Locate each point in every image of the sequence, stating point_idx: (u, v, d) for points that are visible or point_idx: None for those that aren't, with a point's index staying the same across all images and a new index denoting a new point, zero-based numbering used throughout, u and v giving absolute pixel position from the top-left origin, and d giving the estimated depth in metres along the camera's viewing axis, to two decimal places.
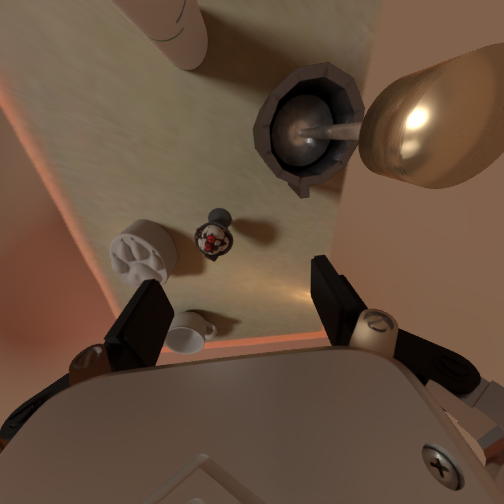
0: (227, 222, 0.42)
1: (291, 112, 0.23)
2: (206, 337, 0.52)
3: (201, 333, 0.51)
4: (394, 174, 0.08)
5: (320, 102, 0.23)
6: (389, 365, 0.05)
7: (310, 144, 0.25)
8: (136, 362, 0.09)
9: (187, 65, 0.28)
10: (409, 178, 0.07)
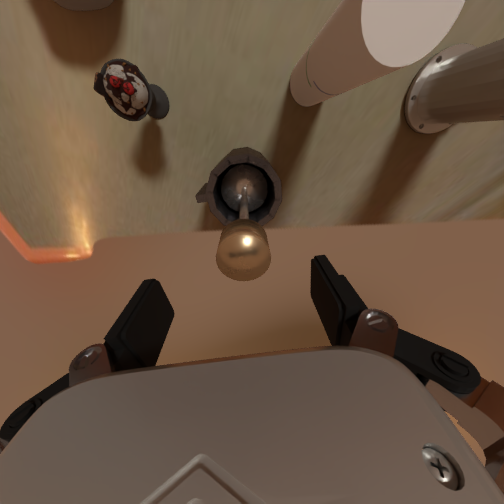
0: (153, 112, 0.36)
1: (257, 180, 0.31)
2: None
3: None
4: (221, 240, 0.14)
5: (262, 200, 0.33)
6: (389, 365, 0.05)
7: (237, 197, 0.32)
8: (136, 362, 0.09)
9: (292, 83, 0.33)
10: (220, 245, 0.14)
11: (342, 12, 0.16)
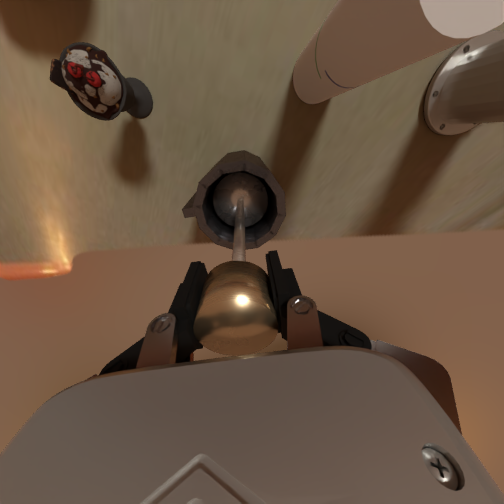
0: (134, 111, 0.31)
1: (255, 190, 0.26)
2: None
3: None
4: (202, 299, 0.09)
5: (262, 213, 0.28)
6: (389, 365, 0.05)
7: (232, 210, 0.28)
8: None
9: (296, 76, 0.28)
10: (198, 313, 0.09)
11: None
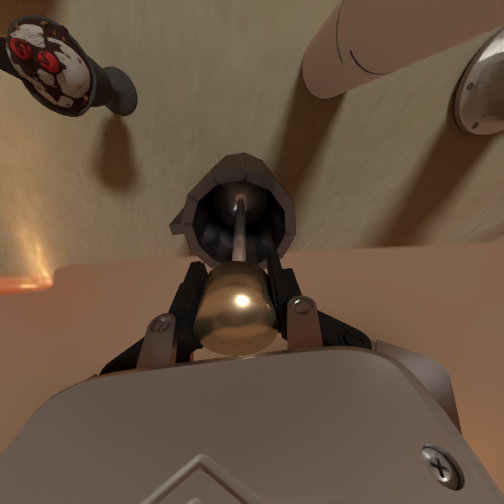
0: (115, 106, 0.26)
1: (255, 190, 0.26)
2: None
3: None
4: (202, 299, 0.09)
5: (262, 213, 0.28)
6: (389, 365, 0.05)
7: (232, 210, 0.28)
8: None
9: (307, 64, 0.23)
10: (198, 313, 0.09)
11: None
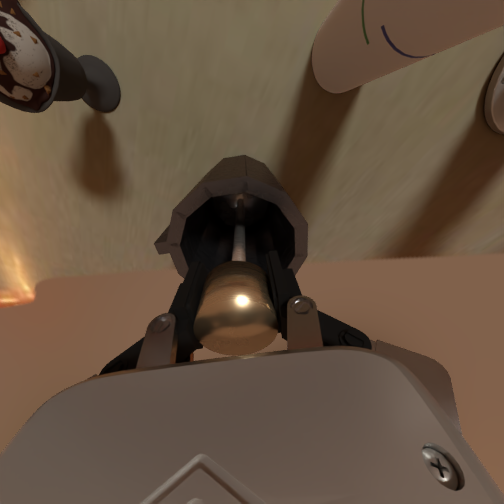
0: (95, 102, 0.23)
1: None
2: None
3: None
4: (202, 299, 0.09)
5: (262, 213, 0.28)
6: (389, 365, 0.05)
7: (232, 210, 0.28)
8: None
9: (318, 52, 0.20)
10: (198, 313, 0.09)
11: None
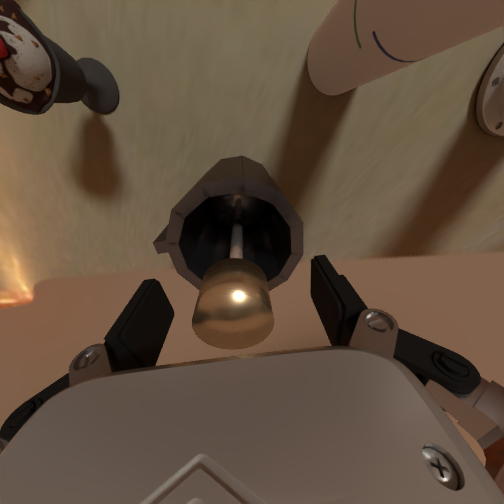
0: (94, 104, 0.23)
1: None
2: None
3: None
4: (200, 295, 0.10)
5: (259, 213, 0.28)
6: (389, 365, 0.05)
7: (230, 210, 0.28)
8: (136, 362, 0.09)
9: (313, 55, 0.20)
10: (197, 308, 0.09)
11: None
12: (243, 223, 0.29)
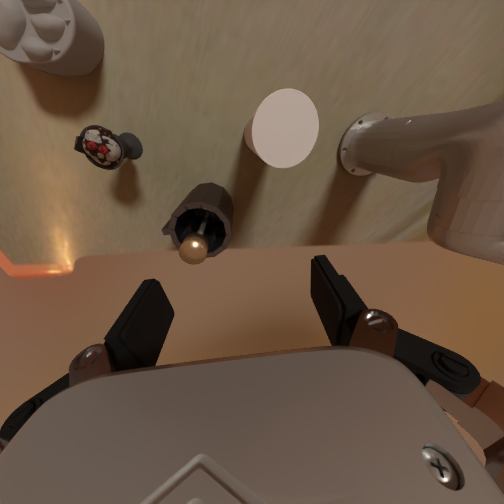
0: (128, 154, 0.42)
1: None
2: None
3: None
4: None
5: None
6: (389, 365, 0.05)
7: (204, 214, 0.47)
8: (136, 362, 0.09)
9: (244, 137, 0.40)
10: (180, 246, 0.28)
11: (250, 126, 0.23)
12: (213, 221, 0.49)
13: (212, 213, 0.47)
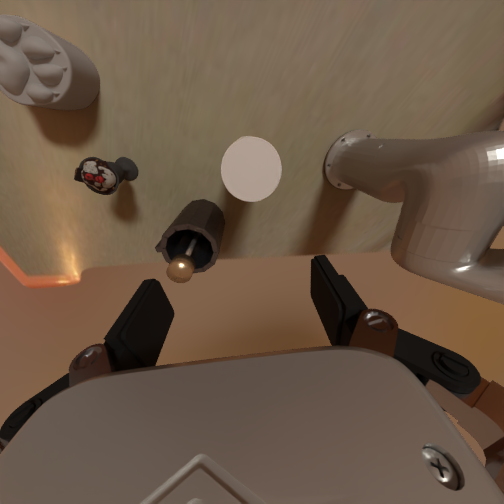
0: (125, 176, 0.45)
1: None
2: None
3: None
4: None
5: None
6: (389, 365, 0.05)
7: None
8: (136, 362, 0.09)
9: None
10: None
11: None
12: None
13: None
